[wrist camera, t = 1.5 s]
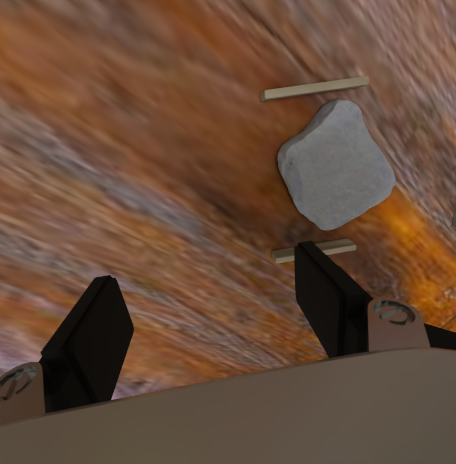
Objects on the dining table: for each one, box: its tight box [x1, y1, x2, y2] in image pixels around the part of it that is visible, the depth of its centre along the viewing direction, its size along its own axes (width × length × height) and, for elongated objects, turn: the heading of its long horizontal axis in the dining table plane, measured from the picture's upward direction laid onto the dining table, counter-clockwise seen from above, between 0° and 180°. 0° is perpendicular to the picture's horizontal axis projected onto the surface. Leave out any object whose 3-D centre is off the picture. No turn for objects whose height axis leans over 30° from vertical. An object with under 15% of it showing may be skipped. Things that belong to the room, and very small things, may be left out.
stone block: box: [277, 98, 396, 230], centre depth 27 cm, size 12×5×10 cm
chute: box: [260, 76, 456, 264], centre depth 27 cm, size 18×26×3 cm
